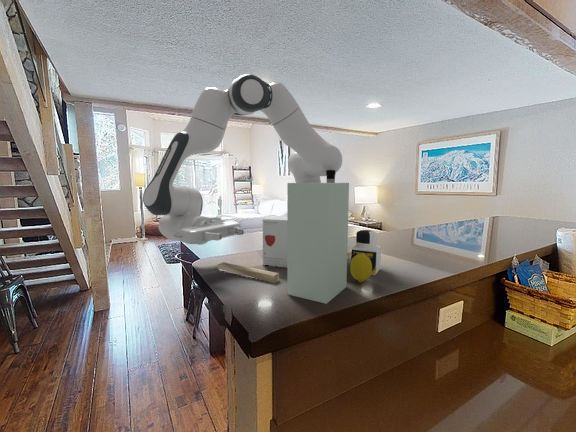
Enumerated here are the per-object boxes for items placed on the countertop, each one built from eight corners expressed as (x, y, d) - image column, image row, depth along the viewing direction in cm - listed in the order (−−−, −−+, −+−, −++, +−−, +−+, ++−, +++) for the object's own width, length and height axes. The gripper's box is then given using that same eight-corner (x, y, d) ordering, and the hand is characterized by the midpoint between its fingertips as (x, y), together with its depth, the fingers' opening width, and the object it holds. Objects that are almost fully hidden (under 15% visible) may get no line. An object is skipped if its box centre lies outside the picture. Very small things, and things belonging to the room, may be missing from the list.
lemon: (345, 280, 78) (346, 251, 77) (363, 278, 80) (364, 249, 79) (357, 287, 73) (358, 256, 72) (375, 284, 75) (377, 254, 74)
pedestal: (311, 279, 79) (312, 182, 75) (346, 286, 73) (349, 182, 70) (287, 294, 68) (287, 183, 65) (326, 303, 63) (328, 183, 60)
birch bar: (223, 270, 88) (223, 262, 88) (279, 281, 78) (279, 273, 78) (217, 272, 86) (217, 264, 86) (274, 284, 76) (274, 275, 76)
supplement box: (261, 265, 92) (261, 218, 90) (271, 258, 100) (271, 215, 98) (289, 268, 89) (289, 219, 87) (297, 260, 97) (297, 216, 96)
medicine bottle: (350, 272, 85) (351, 231, 84) (357, 265, 92) (358, 228, 90) (375, 275, 82) (377, 233, 81) (380, 269, 88) (381, 229, 87)
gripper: (169, 224, 82) (203, 228, 75) (221, 216, 99) (253, 219, 92) (170, 246, 83) (204, 252, 76) (222, 235, 100) (253, 239, 93)
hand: (231, 234), depth 84 cm, fingers open, 8 cm apart
